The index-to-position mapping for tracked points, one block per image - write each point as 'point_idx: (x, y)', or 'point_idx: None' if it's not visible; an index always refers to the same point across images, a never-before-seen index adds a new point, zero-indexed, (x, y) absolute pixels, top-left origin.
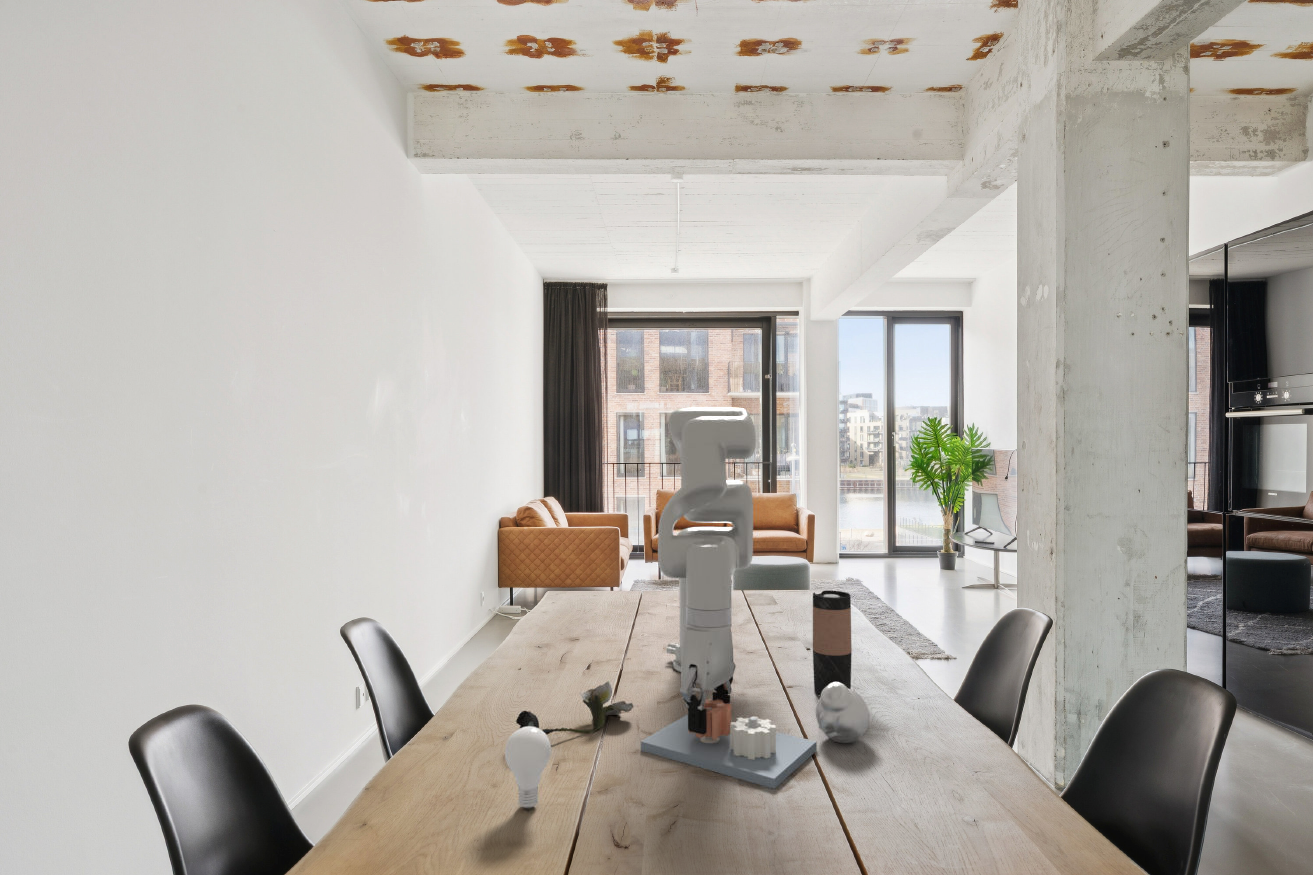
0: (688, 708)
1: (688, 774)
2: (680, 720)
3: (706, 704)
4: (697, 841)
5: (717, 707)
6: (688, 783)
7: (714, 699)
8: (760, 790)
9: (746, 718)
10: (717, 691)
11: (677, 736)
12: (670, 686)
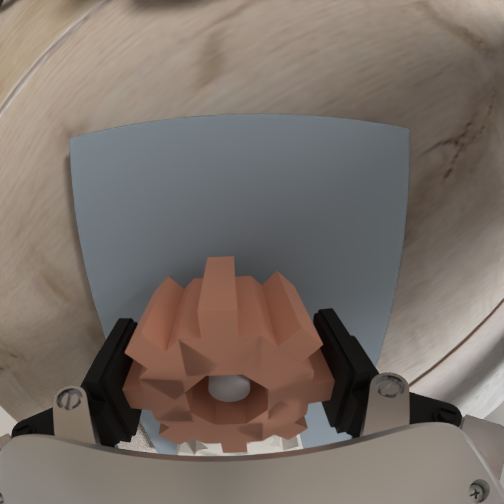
0: (88, 376)
1: (77, 329)
2: (319, 128)
3: (248, 375)
4: (10, 399)
5: (234, 425)
6: (58, 345)
7: (336, 364)
8: (142, 434)
9: (273, 446)
10: (353, 403)
11: (175, 210)
12: (489, 19)
